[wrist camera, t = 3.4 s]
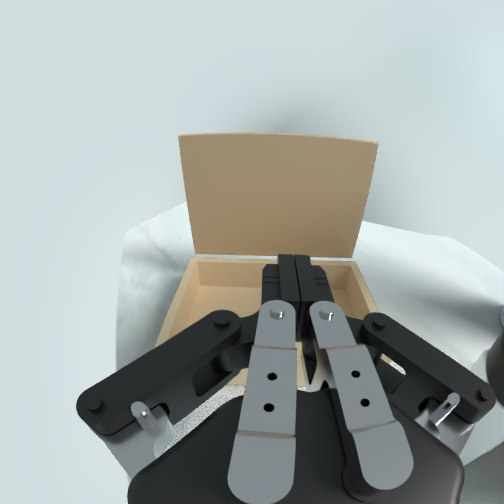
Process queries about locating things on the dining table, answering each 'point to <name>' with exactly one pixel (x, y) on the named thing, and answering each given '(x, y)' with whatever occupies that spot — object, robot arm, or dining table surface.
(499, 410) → the jar
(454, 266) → the dining table surface
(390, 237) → the dining table surface
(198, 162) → the lid
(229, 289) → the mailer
